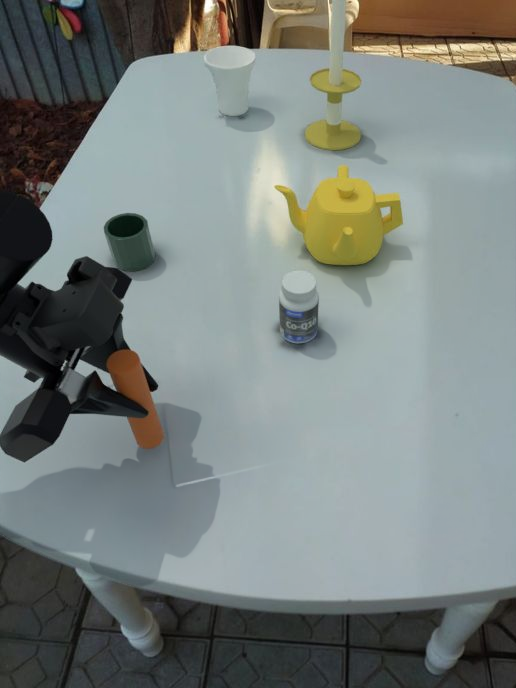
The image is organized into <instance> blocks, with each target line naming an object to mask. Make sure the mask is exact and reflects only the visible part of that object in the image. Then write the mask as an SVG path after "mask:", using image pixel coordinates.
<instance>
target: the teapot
mask: <svg viewBox="0 0 516 688" xmlns="http://www.w3.org/2000/svg"><path fill="white" fill-rule="evenodd" d="M349 169H350V168H349V167H348V166H347V165H345V164H340V165H339V166H338V167H337V176H336V177H329V178H325V179H323V180H321V181H320V182H319V184H318V185H317V187H316V188H315V190H314V192H313V193H312V195H311V197H310V200H309V202H308V204H307V207H306V209H305V210H303V209H302V208H301V207H300V205H299V204H298V199H297V196H296V193H295V191H293V190H292V189H291V188H290V187H287V186H284V185H281V184H275V185H274V189H275V190H276V191H278V192H279V193H281V194H282V195H283V196H284V198H285V200H286V203H287V207H288V208H287V210H288V216H289V220H290V222H291V224H292V226H293V227H294V229H296V230H297V231H298V232H299V233H301V234H302V237H303V241H304V244H305V246H306V248H307V250H308V252H309V253H310V254H311V256H312V258H314V259H315V260H316V261H317V262H319V263H321V264H325V265H333V266H357V265H358V266H359V265H363V264H366V263H368V262H370V261H371V260H373V259H374V258H375V257H376V256H377V254H378V253H379V252H380V249H381V247H382V245H383V241H384V236H385V235H387V234H388V233H390V232H392V231H394V230H395V229H397V228H400V227H401V226H402V225H404V220H403V211H402V203H401V198H400V194H399V192H392V193H391V192H390V193H380V194H375V192H374V190H373V188H372V186H371V184H370V183H369V182H368V181H366V180H365V179H362V178H357V177H350V173H349V171H350V170H349ZM388 207H389V213H388V214H386V215H384V216H383V214H382V210H381V209H384V208H388Z"/></svg>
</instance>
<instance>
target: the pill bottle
mask: <svg viewBox="0 0 516 688" xmlns="http://www.w3.org/2000/svg"><path fill="white" fill-rule="evenodd" d="M319 307H320V295H319V291H318V290H317V279H316V277H315V276H314V275H313V274H312V273H310V272H308V271H306V270H293V271H289V272H287V273H286V274H285V275H283V278H282V280H281V289H280V291H279V294H278V313H279V317H278V318H279V332H280V335H281V337H282V338H283V339H284V340H286V341H287V342H289V343H292V344H305V343H308V342H311V341H312V340H313V339H314V338H315V337H316V336H317V333H318V328H319V324H318V323H319V309H320V308H319Z"/></svg>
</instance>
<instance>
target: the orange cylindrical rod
mask: <svg viewBox="0 0 516 688" xmlns="http://www.w3.org/2000/svg"><path fill="white" fill-rule="evenodd" d="M141 364H142V362H141V359H140V356H139V354H138V353H137V352H136V351H135V350H132V349H131V350H127V349H125V350H119V351H117V352H115V353H113V354H112V355H111V356H110V357H109V358H108V360H107V369H108V371H109V373H108V374H109V376H110V379H111V381H112V384H113V386H114V388H115V389H114V390H115V391H117V392H118V393H120V394H122V395H124V396H126V397H128V398H129V399H131V400H133V401H135V402H137V403H138V404H140V405H141V406H142V407H144V408H145V409H146V410H148V411H149V414H148V416H146V417H145V418H132V417H126V420H127V421H128V424H129V427H130V429H131V431H132V434H133V437H134V439H135V443H136V444H137V445H138V447H139V448H141V449H143V450H151V449H154V448H157V447H158V446H160V444H162V442H163V441H164V437H165V433H164V430H163V428H162V424H161V420H160V418H159V415H158V411H157V408H156V405H155V402H154V399H153V396H152V392H150V390H149V386H148V383H147V380H146V377H145V374H144V371H143V368H142V365H143V364H142V365H141Z"/></svg>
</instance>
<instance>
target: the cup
mask: <svg viewBox="0 0 516 688" xmlns="http://www.w3.org/2000/svg"><path fill="white" fill-rule="evenodd" d="M256 59H257V57H256V52H254V51H252V50H251V49H250V48H248V47H244V46H239V45H222V46H217V47H213V48H211V49H210V50H208V51H207V52H205V54H204V55H203V66H204V67H205V68H207V69H208V71H209V73H210V75H211V77H212V80H213V83H214V86H215V89H216V95H217V104H218V105H217V106H218V110H219V112H220V113H221V114H222V115H224V116H227V117H238V116H242V115H244V114H246V113H247V112H248V111H249V108H250V107H249V106H250V105H249V89H250V88H249V86H250V82H251V74H252V71H253V69H254V67H255V63H256V61H257V60H256ZM247 106H248V107H247Z"/></svg>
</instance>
